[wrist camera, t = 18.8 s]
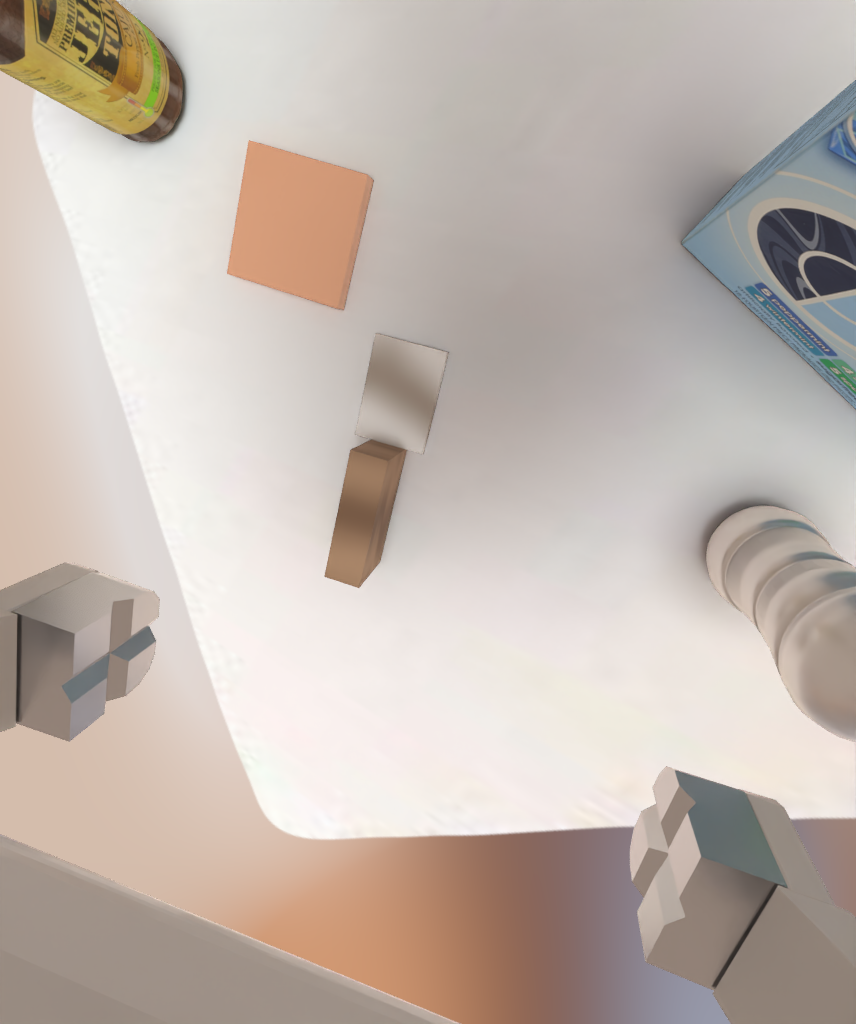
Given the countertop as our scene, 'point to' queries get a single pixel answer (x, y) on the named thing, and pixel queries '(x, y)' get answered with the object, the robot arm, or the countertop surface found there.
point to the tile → (298, 224)
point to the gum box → (796, 241)
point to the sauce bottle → (93, 63)
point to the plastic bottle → (794, 606)
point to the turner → (383, 450)
